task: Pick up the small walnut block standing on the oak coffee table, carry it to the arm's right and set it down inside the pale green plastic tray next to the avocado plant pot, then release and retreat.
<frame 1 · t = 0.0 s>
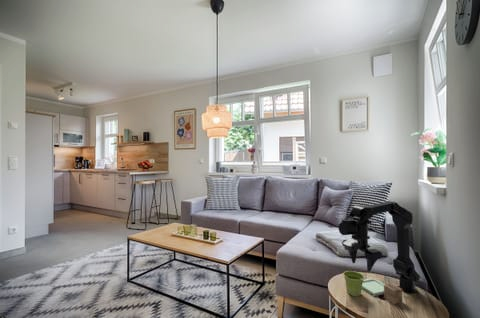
hand: (361, 267, 113), 15 cm above the table, fingers open, 9 cm apart
plant pot: (353, 293, 118), on the table
green tray: (373, 288, 122), on the table
walnut block: (393, 300, 112), on the table
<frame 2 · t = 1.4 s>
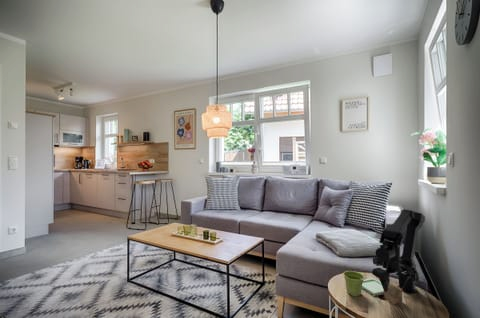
hand: (393, 290, 112), 4 cm above the table, fingers open, 9 cm apart
nothing on the table moved.
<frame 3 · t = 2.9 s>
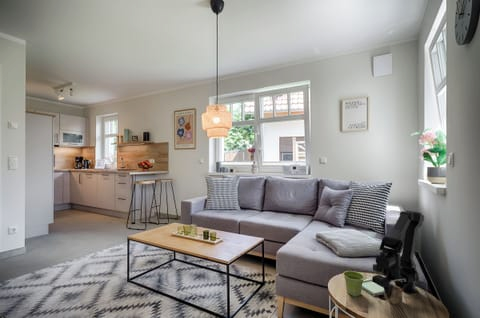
hand: (393, 297, 112), 1 cm above the table, fingers closed on walnut block, 5 cm apart
walnut block: (393, 300, 112), on the table, touching gripper
everything else where it was.
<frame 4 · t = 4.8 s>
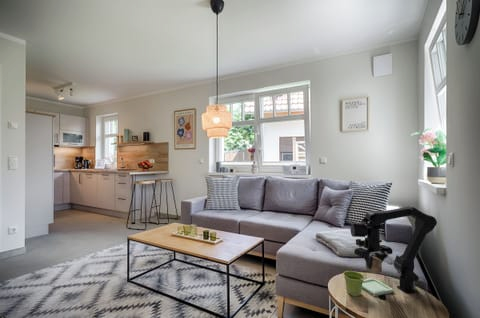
hand: (373, 268, 122), 10 cm above the table, fingers closed on walnut block, 5 cm apart
walnut block: (373, 270, 122), point 9 cm above the table, touching gripper
everything else where it was.
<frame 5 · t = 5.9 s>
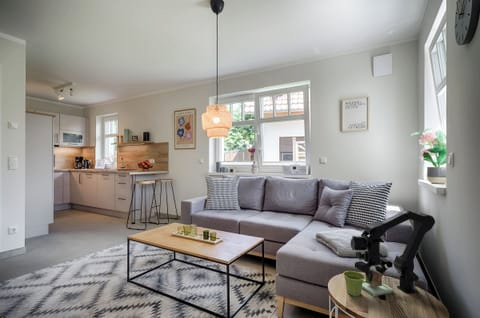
hand: (373, 281, 122), 3 cm above the table, fingers closed on walnut block, 5 cm apart
walnut block: (373, 284, 122), point 2 cm above the table, touching gripper
everything else where it was.
when the fingers open (3 cm above the table, at t = 6.7 s): walnut block stays where it is, resting on green tray.
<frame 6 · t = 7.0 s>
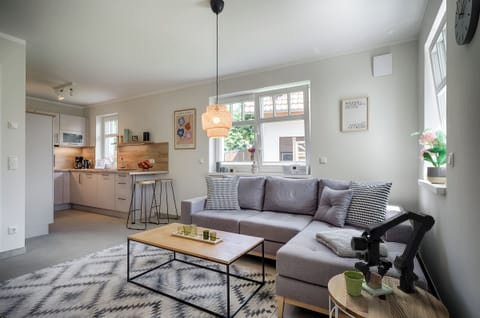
hand: (373, 282, 122), 3 cm above the table, fingers open, 8 cm apart
walnut block: (373, 286, 122), point 1 cm above the table, touching green tray
everything else where it was.
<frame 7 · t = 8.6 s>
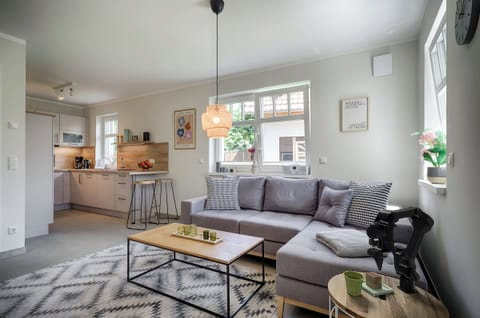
hand: (387, 269, 117), 12 cm above the table, fingers open, 9 cm apart
nothing on the table moved.
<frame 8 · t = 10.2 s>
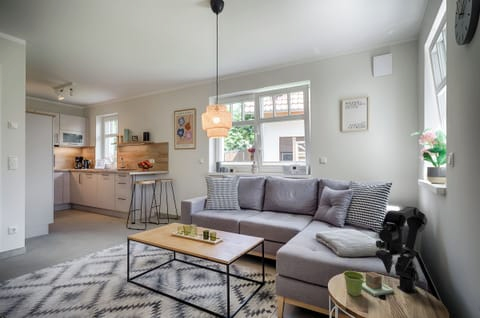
hand: (395, 271, 114), 12 cm above the table, fingers open, 9 cm apart
nothing on the table moved.
at the end: walnut block inside the target area on the green tray (0.1 cm from its centre), point 0.8 cm above the green tray's base; walnut block tilted 0°; the gripper is holding nothing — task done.
